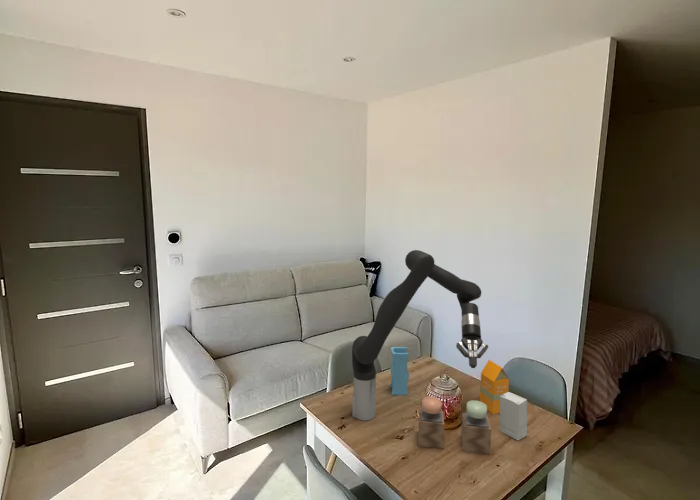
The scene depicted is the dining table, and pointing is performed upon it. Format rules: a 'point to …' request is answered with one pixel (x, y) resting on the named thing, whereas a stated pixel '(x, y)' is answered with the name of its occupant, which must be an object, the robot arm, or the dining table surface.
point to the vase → (399, 371)
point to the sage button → (476, 409)
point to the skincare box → (513, 415)
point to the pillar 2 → (475, 434)
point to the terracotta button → (431, 405)
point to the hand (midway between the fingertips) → (473, 367)
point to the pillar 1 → (431, 429)
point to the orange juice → (493, 386)
